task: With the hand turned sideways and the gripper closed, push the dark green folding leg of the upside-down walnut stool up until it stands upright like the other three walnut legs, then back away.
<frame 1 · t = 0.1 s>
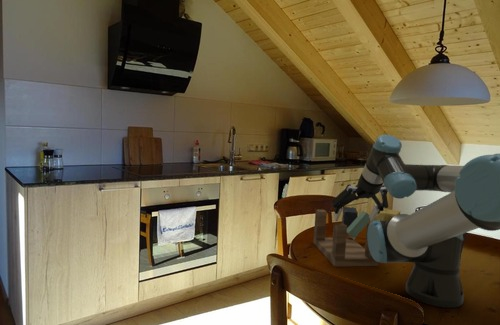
hand: (353, 218, 129), 15 cm above the table, tool tilted 35°, fingers open, 13 cm apart
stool: (343, 253, 135), on the table
cheese: (386, 231, 169), on the table
small box: (348, 231, 167), on the table
folding leg: (358, 225, 146), point 8 cm above the table, hinge at 40.0°
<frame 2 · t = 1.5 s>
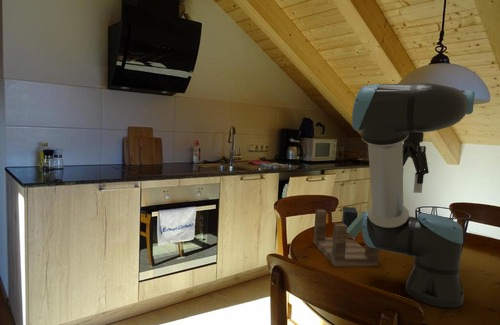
hand: (407, 189, 132), 26 cm above the table, tool pointing down, fingers open, 12 cm apart
nothing on the table moved.
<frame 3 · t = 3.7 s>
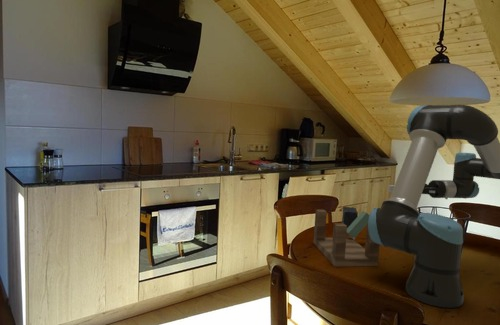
hand: (388, 188, 146), 24 cm above the table, tool horizontal, fingers closed
nothing on the table moved.
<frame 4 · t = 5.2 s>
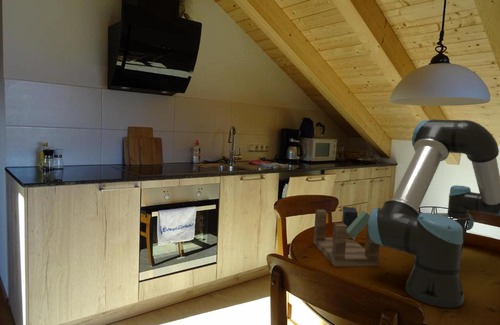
hand: (384, 221, 147), 10 cm above the table, tool horizontal, fingers closed
nothing on the table moved.
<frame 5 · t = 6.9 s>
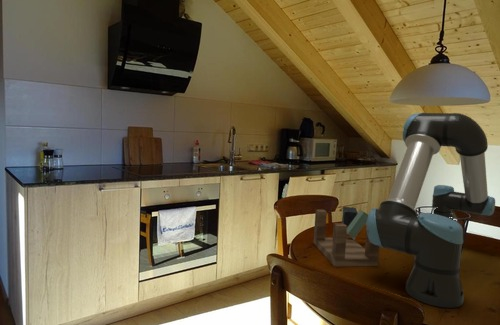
hand: (366, 221, 146), 10 cm above the table, tool horizontal, fingers closed
folding leg: (357, 224, 146), point 9 cm above the table, hinge at 34.4°, touching gripper
everything else where it was.
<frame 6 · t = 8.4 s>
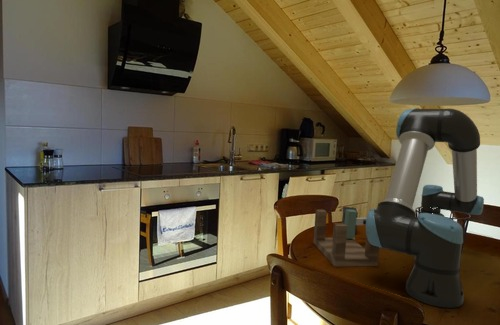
hand: (354, 221, 145), 10 cm above the table, tool horizontal, fingers closed
folding leg: (350, 224, 145), point 9 cm above the table, hinge at 2.4°, touching gripper
everything else where it was.
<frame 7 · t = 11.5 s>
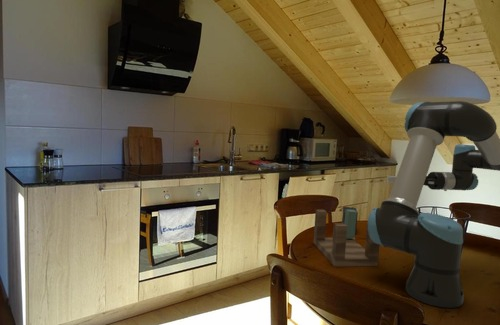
hand: (387, 179, 145), 28 cm above the table, tool horizontal, fingers closed
folding leg: (350, 224, 145), point 9 cm above the table, hinge at 2.3°
everything else where it was.
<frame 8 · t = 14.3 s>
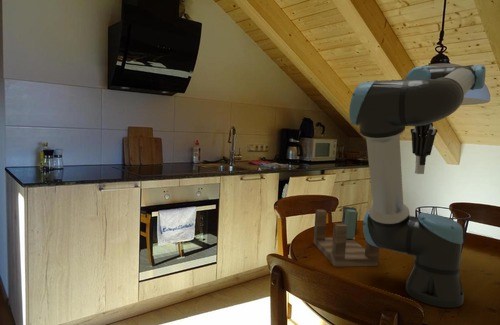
hand: (419, 173, 131), 32 cm above the table, tool pointing down, fingers closed
nothing on the table moved.
at the end: folding leg at +2° (first picture: +40°); small box moved 0.3 cm from its start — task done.
